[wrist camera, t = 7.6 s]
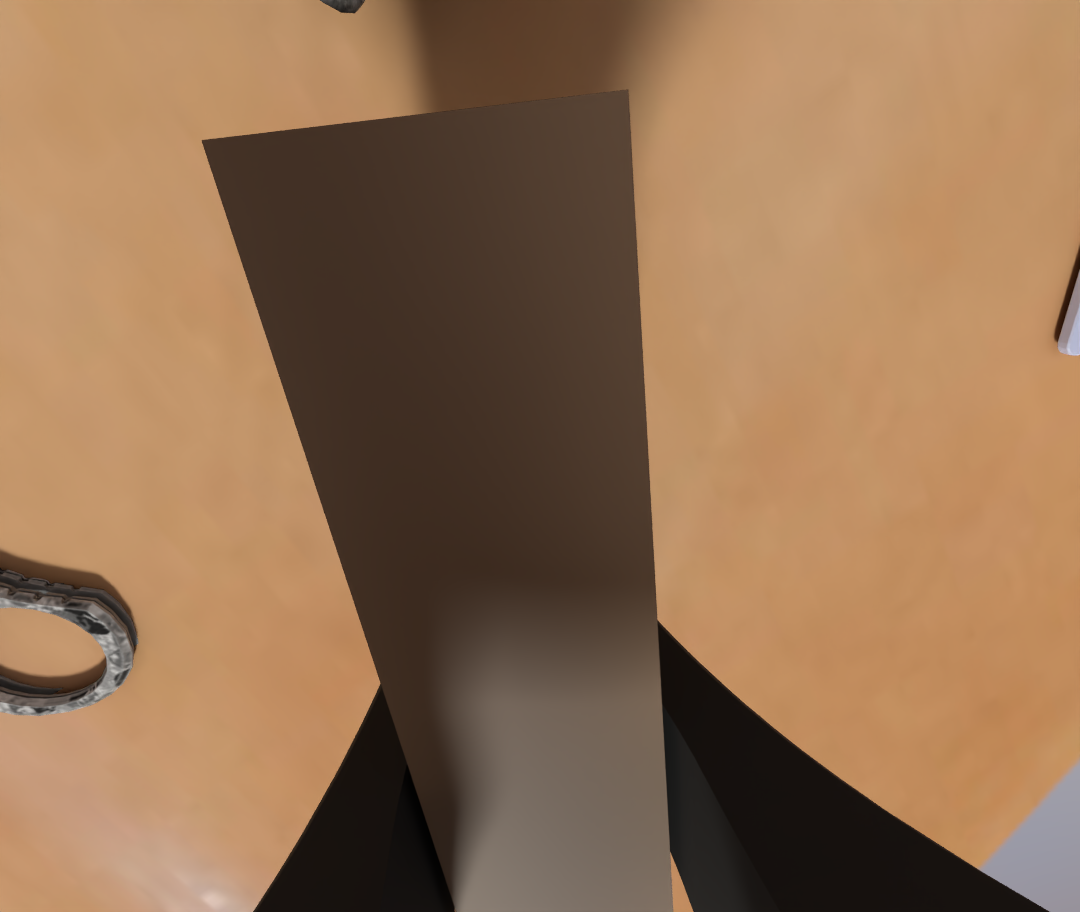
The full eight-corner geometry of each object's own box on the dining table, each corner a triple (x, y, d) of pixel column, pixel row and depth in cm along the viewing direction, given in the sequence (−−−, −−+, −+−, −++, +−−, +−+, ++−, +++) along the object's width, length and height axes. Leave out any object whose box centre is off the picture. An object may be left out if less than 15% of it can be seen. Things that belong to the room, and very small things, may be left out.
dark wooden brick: (525, 181, 9) (627, 89, 4) (595, 738, 15) (680, 1031, 9) (355, 204, 9) (201, 140, 4) (489, 762, 14) (511, 1079, 9)
